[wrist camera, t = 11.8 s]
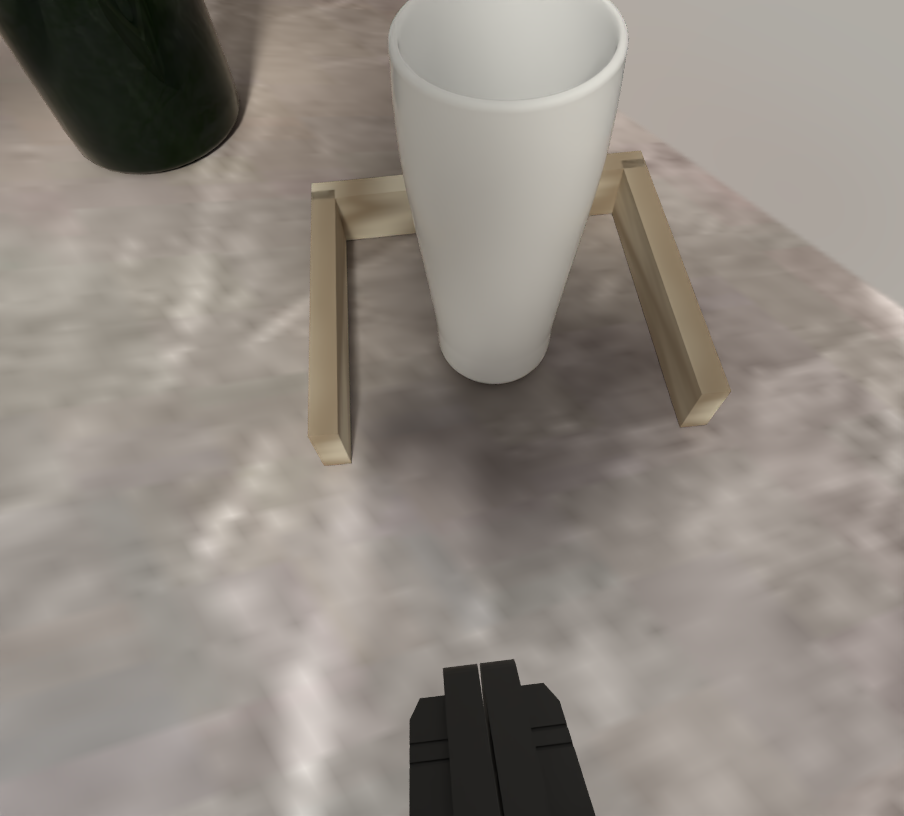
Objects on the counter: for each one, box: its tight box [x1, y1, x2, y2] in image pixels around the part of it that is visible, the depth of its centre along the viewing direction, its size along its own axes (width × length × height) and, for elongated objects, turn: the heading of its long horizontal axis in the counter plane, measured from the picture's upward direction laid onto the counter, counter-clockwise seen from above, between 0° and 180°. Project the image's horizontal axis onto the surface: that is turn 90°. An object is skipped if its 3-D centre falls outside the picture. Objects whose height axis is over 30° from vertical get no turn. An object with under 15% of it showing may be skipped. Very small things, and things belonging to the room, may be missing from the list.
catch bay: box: [308, 151, 731, 466], centre depth 29 cm, size 17×15×3 cm
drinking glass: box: [388, 0, 629, 384], centre depth 23 cm, size 7×7×15 cm
